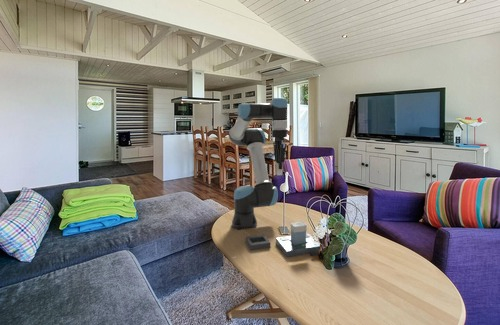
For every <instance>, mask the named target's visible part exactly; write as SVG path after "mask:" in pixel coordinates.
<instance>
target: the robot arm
mask: <svg viewBox="0 0 500 325" xmlns="http://www.w3.org/2000/svg"><path fill="white" fill-rule="evenodd" d="M237 115H238V116H237V119H236V121H235V123H234V125H233V126H232V127H231V128H230V130H229V132H228V138H229V140H230V142H231V143H232V144H234V145H236V146H239V147H246V150H248V151H249V155H250V160H251V165H252V170H253V176H254V180H255V184H254V186H252V185H242V186H240V187H236V188H235V190H234V191H233V193H234V194H233V205H234V209H233V210H234V214H233V217H232V219H231V220H232V221H231V226H233V227H232V228H234V230H235V229H236V230H239V231H241V230H248V229H255V228H256V227H257V226H258V221H257V218H256V215H255V208H256V209H257V208H264V207H269V208H270V207H273V206H275V205H276V204H277V202H278V198H279V192H278V191H279V190H278V187H277V186H275V185H274V184H273V182H271V181H270V178H269V174H268V170H267V165H266V161H265V160H266V159H265V155H264V151H263V148H264V146H265V144H266V134H265V131H264V130H263V129H262V128H259V127H258V128H257V127H253V128H250V127H249V126H250V124H251V123H252V121H253V120H254V119H271V120H272V121H271V126H272V127H271V129H272V130H271V137H272V138H274V141H273V142H272V145H273V153H274V161H275V163H276V176H283V163H285V160H286V150H287V146H288V145H287V143H285V138H287V137H288V99H287V98H286V97H274V98H272V99H271V103H250V102H249V103H247V102H245V103H239V104H238V106H237ZM248 127H249V128H248Z"/></svg>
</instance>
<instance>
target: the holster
mask: <svg viewBox="0 0 500 325" xmlns="http://www.w3.org/2000/svg"><path fill="white" fill-rule="evenodd" d="M245 243H246V245H247V247H248V249H249V250H250V251H256V250H262V249H270V248H271V241H270V240H269V238H268V237H267V236H266V235H265V234H264V233H263V234H262V233H261V234H256V235H255V234H254V235H249V236H248V235H247V236H245Z"/></svg>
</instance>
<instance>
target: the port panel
mask: <svg viewBox="0 0 500 325" xmlns="http://www.w3.org/2000/svg"><path fill="white" fill-rule="evenodd" d="M313 238H314V237H313V236H312V235H311V234H309V233H306V244H299V245H293V244H292V243H291V235H289V236H288V235H287V236H280V237H276V238H275V245H277V247H278V249H279V250H281V252H282V253H283V254H284V256H285V257H286V258H291V257H292V258H293V257H297V256H304V255H305V256H306V255H309V256H316V255H320V254H319V250H320V244H321V243H320V242H319V241H318V242H316V241H314V239H315V238H314V239H313Z"/></svg>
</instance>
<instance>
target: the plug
mask: <svg viewBox="0 0 500 325" xmlns="http://www.w3.org/2000/svg"><path fill="white" fill-rule="evenodd" d="M307 226H308V225H307V224H306V223H304V222H303V221H298V222H290V236H291V243H292V244H293V245H299V244H306V234H307V229H308V228H307Z"/></svg>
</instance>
